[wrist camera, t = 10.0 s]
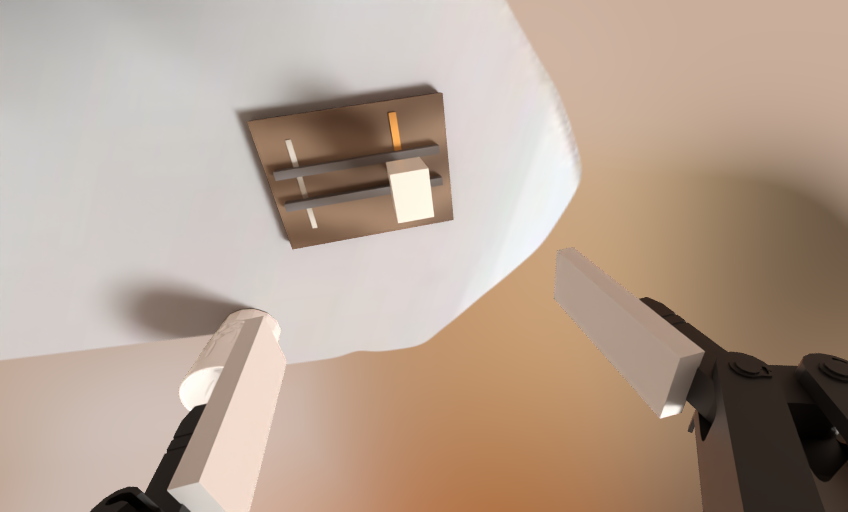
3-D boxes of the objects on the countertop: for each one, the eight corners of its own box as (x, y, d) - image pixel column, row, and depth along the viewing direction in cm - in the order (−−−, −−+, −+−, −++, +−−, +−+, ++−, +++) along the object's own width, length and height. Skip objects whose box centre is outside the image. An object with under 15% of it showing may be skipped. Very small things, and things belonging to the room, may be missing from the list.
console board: (251, 120, 31) (243, 123, 29) (439, 92, 33) (444, 93, 30) (294, 243, 37) (290, 253, 35) (450, 215, 39) (455, 223, 37)
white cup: (223, 355, 43) (187, 425, 34) (211, 304, 39) (169, 368, 30) (288, 352, 44) (270, 419, 35) (283, 303, 41) (261, 364, 32)
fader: (383, 153, 32) (389, 174, 25) (413, 148, 33) (428, 168, 25) (390, 192, 34) (398, 223, 27) (418, 187, 35) (434, 216, 27)
